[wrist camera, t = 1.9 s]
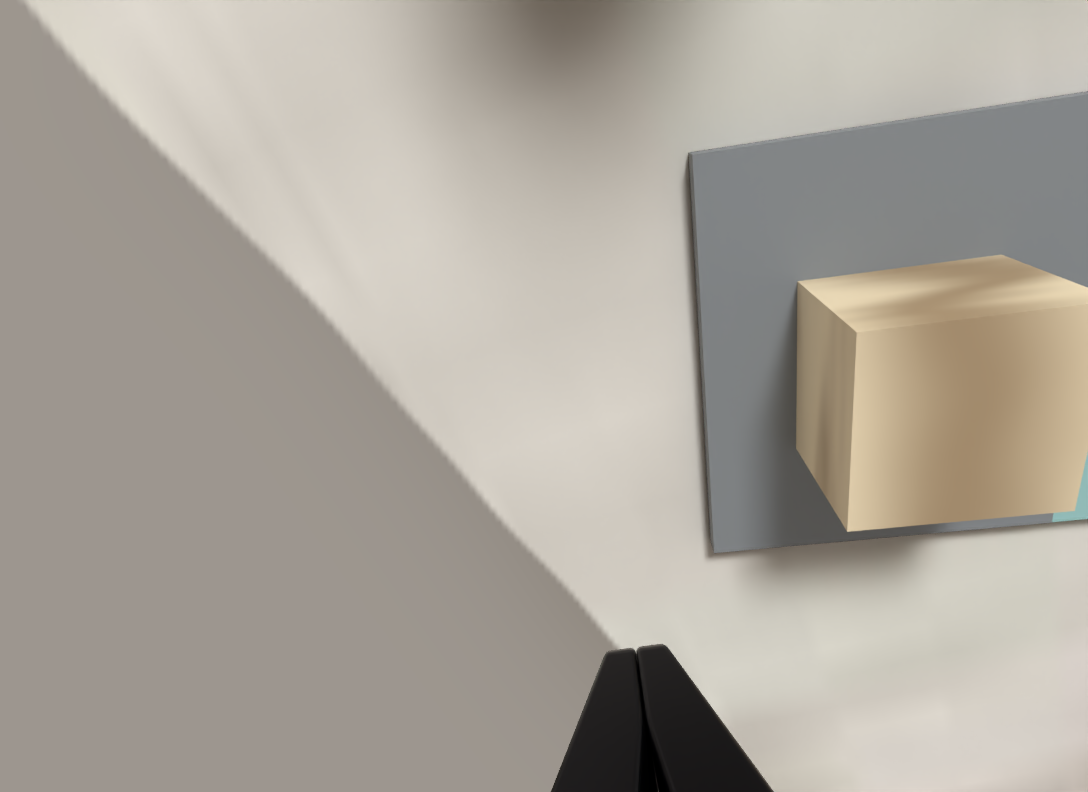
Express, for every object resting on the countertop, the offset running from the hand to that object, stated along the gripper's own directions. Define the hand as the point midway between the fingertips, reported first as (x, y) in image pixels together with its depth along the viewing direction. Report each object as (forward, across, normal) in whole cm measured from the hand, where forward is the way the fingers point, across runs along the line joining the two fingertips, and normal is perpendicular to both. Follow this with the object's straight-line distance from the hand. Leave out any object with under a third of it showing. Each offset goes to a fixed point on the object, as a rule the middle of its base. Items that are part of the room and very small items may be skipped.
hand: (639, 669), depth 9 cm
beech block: (+10, -8, +1) cm, 13 cm away
